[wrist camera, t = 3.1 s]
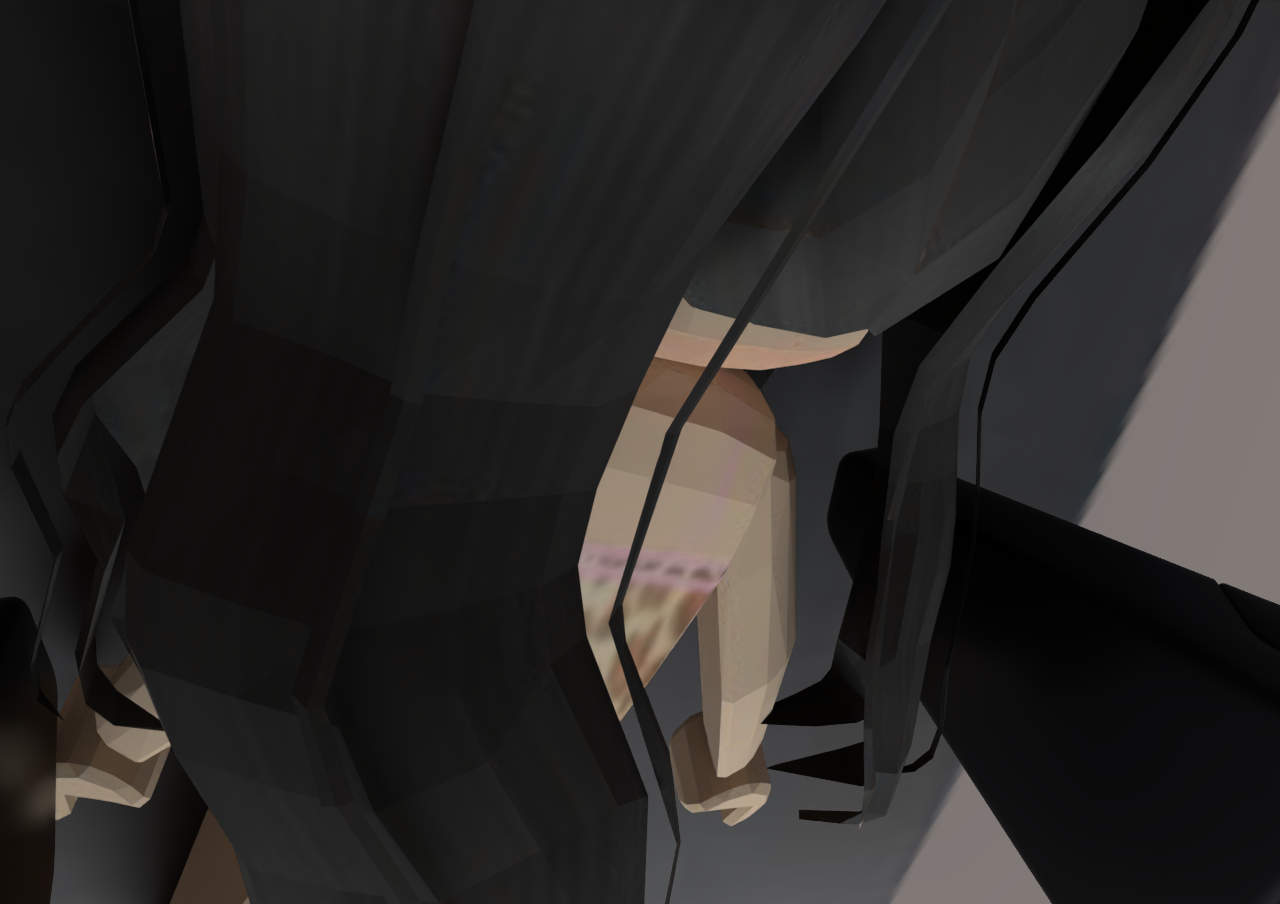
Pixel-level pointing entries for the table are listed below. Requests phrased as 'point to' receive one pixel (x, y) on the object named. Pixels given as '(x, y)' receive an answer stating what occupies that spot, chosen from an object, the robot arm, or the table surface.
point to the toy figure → (553, 408)
